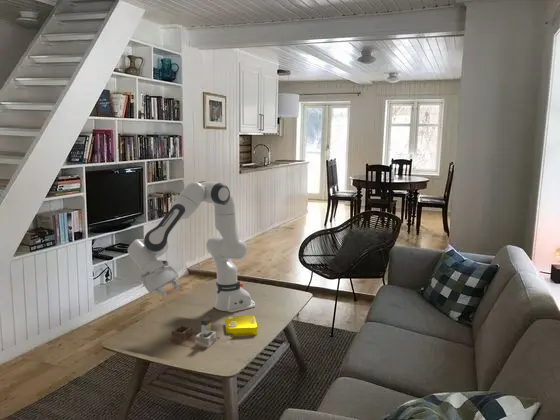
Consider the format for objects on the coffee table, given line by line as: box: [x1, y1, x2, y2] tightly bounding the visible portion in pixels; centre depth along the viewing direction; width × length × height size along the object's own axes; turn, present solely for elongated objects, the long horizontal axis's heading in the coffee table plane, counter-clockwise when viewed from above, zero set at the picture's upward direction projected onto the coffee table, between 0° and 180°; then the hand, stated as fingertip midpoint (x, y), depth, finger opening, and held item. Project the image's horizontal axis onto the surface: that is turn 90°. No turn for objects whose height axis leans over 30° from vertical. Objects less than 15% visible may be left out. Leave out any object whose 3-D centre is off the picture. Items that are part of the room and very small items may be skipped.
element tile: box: [224, 315, 258, 338], centre depth 229 cm, size 15×15×5 cm
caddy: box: [166, 325, 221, 351], centre depth 214 cm, size 14×20×6 cm
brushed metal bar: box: [200, 316, 212, 338], centre depth 211 cm, size 4×2×11 cm, turn 158°
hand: (171, 292), depth 217 cm, fingers open, 8 cm apart
